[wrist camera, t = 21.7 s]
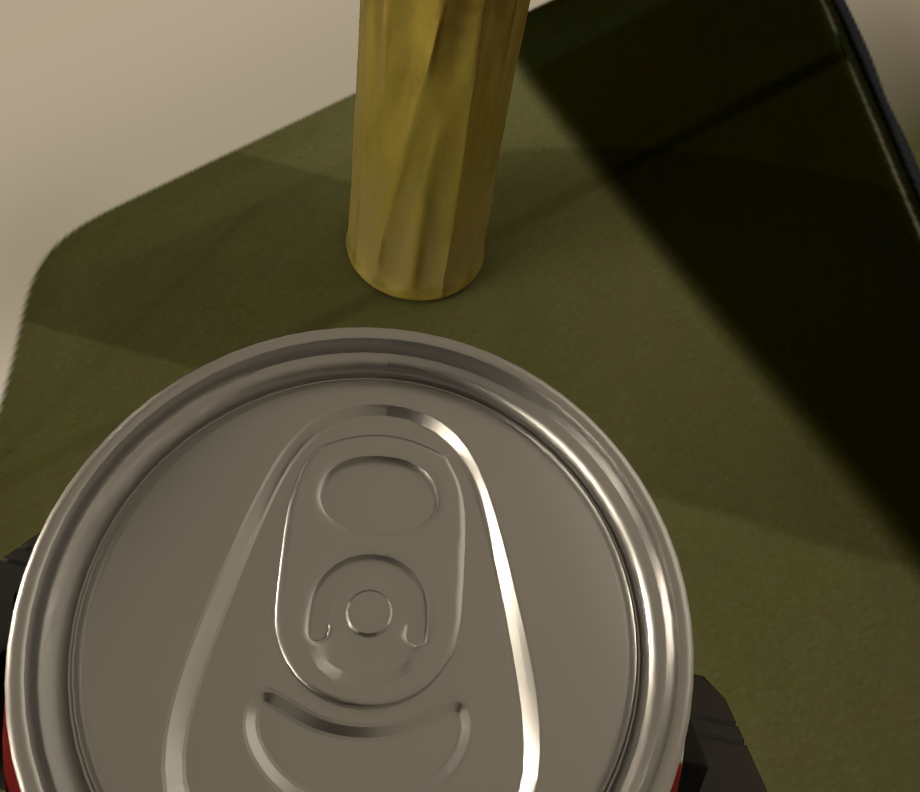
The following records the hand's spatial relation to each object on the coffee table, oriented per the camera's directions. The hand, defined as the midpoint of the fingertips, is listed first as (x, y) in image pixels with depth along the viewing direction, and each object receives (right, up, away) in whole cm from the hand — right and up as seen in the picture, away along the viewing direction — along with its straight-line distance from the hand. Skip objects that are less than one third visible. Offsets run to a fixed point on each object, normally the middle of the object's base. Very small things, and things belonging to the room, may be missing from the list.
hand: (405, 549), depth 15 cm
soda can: (-1, -5, +1) cm, 5 cm away
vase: (-1, +9, +19) cm, 21 cm away
